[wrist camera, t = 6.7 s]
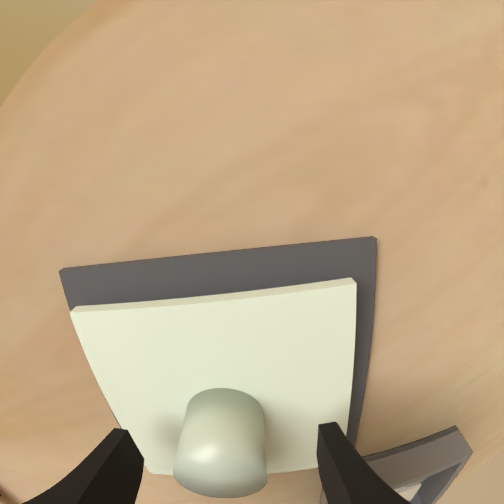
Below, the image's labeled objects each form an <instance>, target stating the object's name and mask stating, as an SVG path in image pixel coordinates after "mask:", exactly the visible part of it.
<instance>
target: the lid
mask: <svg viewBox="0 0 504 504" xmlns="http://www.w3.org/2000/svg"><path fill="white" fill-rule="evenodd" d="M356 292H357V283H356V282H355V281H354V280H353V279H352V278H351V277H350V278H343V279H336V280H330V281H322V282H315V283H308V284H300V285H293V286H285V287H277V288H269V289H261V290H253V291H244V292H235V293H226V294H217V295H207V296H197V297H187V298H177V299H166V300H154V301H142V302H130V303H116V304H102V305H86V306H76V307H75V308H74V309H73V310H72V311H70V312H69V313H70V316H71V319H72V321H73V324H74V327H75V330H76V332H77V335H78V337H79V340H80V343H81V345H82V348H83V350H84V352H85V355H86V357H87V360H88V362H89V364H90V366H91V369H92V371H93V373H94V375H95V377H96V380H97V382H98V384H99V386H100V388H101V390H102V392H103V394H104V396H105V398H106V400H107V402H108V404H109V406H110V408H111V410H112V412H113V413H114V415H115V417H116V419H117V421H118V422H119V424H120V426H121V428H122V429H126V430H128V431H129V433H130V435H131V437H132V438H133V440H134V442H135V444H136V445H137V447H138V449H139V451H140V452H141V454H142V456H143V457H144V465H145V466H146V468H147V469H148V471H149V472H150V473H154V474H164V475H174V478H175V479H176V480H177V482H178V483H179V484H181V485H182V486H183V487H185V488H187V489H189V490H190V491H193V492H195V493H198V494H201V495H205V496H210V497H216V498H237V497H244V496H248V495H251V494H254V493H256V492H258V491H259V490H261V489H262V488H263V487H264V486H265V485H266V483H267V474H274V473H283V472H291V471H298V470H305V469H311V468H317V467H318V462H317V456H316V452H317V439H318V424H324V423H329V422H337V423H338V425H339V426H340V428H341V429H342V431H343V433H344V434H345V436H346V433H347V425H348V418H349V409H350V400H351V390H352V379H353V366H354V351H355V331H356Z"/></svg>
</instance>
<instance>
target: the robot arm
mask: <svg viewBox="0 0 504 504" xmlns="http://www.w3.org/2000/svg"><path fill="white" fill-rule="evenodd" d="M316 456H317V462H318V468H319V474H320V479H321V482H322V486H323V489H324V492H325V496H326V499H327V502H328V504H412V503H410V502H409V501H408V500H406V499H405V498H403V497H402V496H401V495H400V494H398V493H397V492H396V491H395V490H393V489H392V488H391V487H390V486H389V485H388V484H387V483H386V482H385V481H383V480H382V479H381V478H380V477H379V476H378V475H377V474H376V473H375V472H374V470H373V469H372V468H371V467H370V466H369V465H368V464H367V463H366V462H365V460H364V459H363V458H362V457H361V456H360V454H359V453H358V452H357V451H356V449H355V448H354V447H353V445H352V444H351V443H350V441H349V440H348V439H347V437H346V436H345V434H344V433H343V431H342V429H341V428H340V426H339V425H338V423H337V422H329V423H324V424H318V439H317V452H316ZM143 466H144V457H143V456H142V454H141V452H140V451H139V449H138V447H137V445H136V444H135V442H134V440H133V438H132V437H131V435H130V433H129V431H128V430H126V429H118V428H114V429H113V430H112V431H111V432H110V433H109V434H108V435H107V436H106V437H105V439H104V440H103V441H102V442H101V443H100V444H99V445H98V446H97V447H96V448H95V449H94V450H93V451H92V452H91V453H90V454H89V455H88V456H87V457H86V458H85V459H84V460H83V461H82V462H81V463H80V464H79V465H78V466H77V467H76V468H75V469H74V470H73V471H71V472H70V473H69V474H68V475H67V476H66V477H65V478H63V479H62V480H61V481H60V482H58V483H57V484H55V485H54V486H53V487H51V488H50V489H48V490H47V491H45V492H43V493H42V494H40V495H38V496H36V497H34V498H33V499H31V500H29V501H27V502H24V503H22V504H135V500H136V497H137V494H138V490H139V487H140V483H141V480H142V473H143Z"/></svg>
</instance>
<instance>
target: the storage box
mask: <svg viewBox="0 0 504 504" xmlns="http://www.w3.org/2000/svg"><path fill="white" fill-rule="evenodd" d="M472 453H473V451H472V449H471V448H470V446H469V445H468V443H467V442H466V440H465V439H464V437H463V436H462V434H461V433H460V431H459V430H458V428H457V427H456V426H454V427H451V428H449V429H447V430H444V431H442V432H439V433H437V434H434V435H432V436H429V437H426V438H424V439H421V440H418V441H415V442H412V443H409V444H407V445H403V446H400V447H397V448H394V449H391V450H387V451H384V452H380V453H377V454H373V455H369V456H365V457H362V458H363V459H364V460H365V462H366V463H367V464H368V465H369V466H370V467H371V468H372V469H373V470H374V472H375V473H376V474H377V475H378V476H379V477H380V478H381V479H382V480H383V481H385V482H386V483H387V484H388V485H389V486H390V487H391V488H392V489H393V490H395V491H396V492H397V493H398V494H400V495H401V496H402V497H403V498H405V499H406V500H408V501H409V502H410V503H412V504H435V503H436V502H437V501H438V500H439V498H440V497H441V496H442V495H443V494H444V492H445V491H446V490H447V489H448V487H449V486H450V485H451V483H452V482H453V481H454V479H455V478H456V477H457V475H458V474H459V472H460V471H461V470H462V468H463V467H464V465H465V464H466V462H467V461H468V459H469V458H470V456H471V455H472ZM320 504H328V502H327V499H326V496H325V492H324V489H323V487H322V493H321V499H320Z"/></svg>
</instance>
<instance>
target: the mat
mask: <svg viewBox="0 0 504 504" xmlns="http://www.w3.org/2000/svg"><path fill="white" fill-rule="evenodd" d="M59 274H60V278H61V282H62V285H63V289H64V292H65V296H66V299H67V302H68V306H69V309H70V311H72V310H73V309H74V308H75V307H76V306H86V305H102V304H116V303H130V302H142V301H154V300H166V299H177V298H187V297H197V296H207V295H217V294H226V293H235V292H244V291H253V290H261V289H269V288H277V287H285V286H293V285H300V284H308V283H315V282H322V281H330V280H336V279H343V278H350V277H351V278H352V279H353V280H354V281H355V282H356V283H357V292H356V331H355V351H354V366H353V379H352V390H351V400H350V409H349V418H348V425H347V433H346V437H347V439H348V440H349V441H350V443H351V444H352V445H353V447H354V445H355V440H356V436H357V431H358V426H359V421H360V416H361V410H362V404H363V399H364V392H365V386H366V379H367V372H368V365H369V356H370V348H371V338H372V328H373V316H374V302H375V283H376V238H374V237H373V236H371V237H361V238H351V239H341V240H331V241H321V242H311V243H301V244H291V245H281V246H271V247H261V248H251V249H242V250H232V251H222V252H212V253H203V254H193V255H183V256H174V257H164V258H155V259H145V260H136V261H126V262H117V263H107V264H98V265H89V266H79V267H70V268H63V269H61V270H60V271H59ZM103 395H104V394H103ZM104 397H105V396H104ZM105 399H106V398H105ZM106 401H107V400H106ZM107 403H108V402H107ZM108 405H109V404H108ZM109 407H110V406H109ZM110 409H111V408H110ZM111 411H112V410H111ZM112 413H113V412H112ZM113 415H114V413H113ZM114 417H115V415H114ZM115 418H116V417H115ZM116 420H117V419H116ZM117 422H118V421H117ZM118 424H119V422H118ZM119 426H120V424H119ZM120 428H121V426H120ZM121 429H122V428H121Z"/></svg>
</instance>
